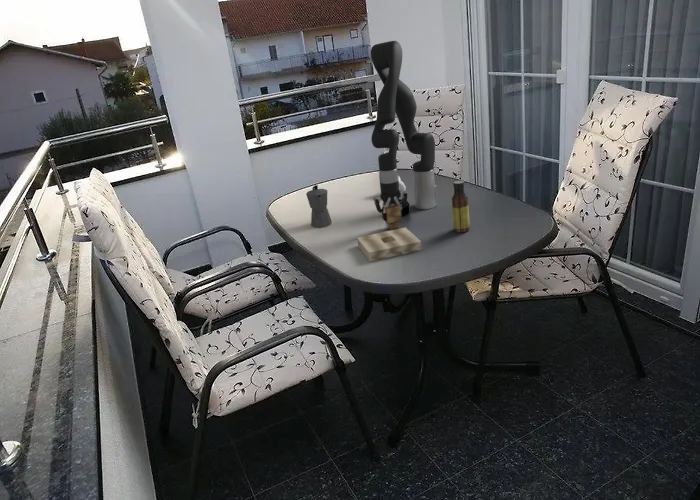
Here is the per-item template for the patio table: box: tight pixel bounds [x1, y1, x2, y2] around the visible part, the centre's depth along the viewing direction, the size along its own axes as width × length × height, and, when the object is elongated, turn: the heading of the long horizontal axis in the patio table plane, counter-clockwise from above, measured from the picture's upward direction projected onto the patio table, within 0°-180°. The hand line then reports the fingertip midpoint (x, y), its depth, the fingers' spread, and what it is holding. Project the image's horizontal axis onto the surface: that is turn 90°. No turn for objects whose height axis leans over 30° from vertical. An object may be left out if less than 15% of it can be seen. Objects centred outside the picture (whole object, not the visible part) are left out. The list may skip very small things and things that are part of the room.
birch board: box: [356, 226, 422, 262], centre depth 189 cm, size 20×16×4 cm
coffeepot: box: [305, 184, 333, 229], centre depth 219 cm, size 15×9×18 cm, turn 13°
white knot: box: [398, 175, 407, 193], centre depth 246 cm, size 11×12×9 cm
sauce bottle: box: [451, 180, 471, 233], centre depth 193 cm, size 7×6×20 cm
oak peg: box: [385, 204, 402, 231], centre depth 205 cm, size 6×6×10 cm
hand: (392, 219), depth 206 cm, fingers closed on oak peg, 5 cm apart
